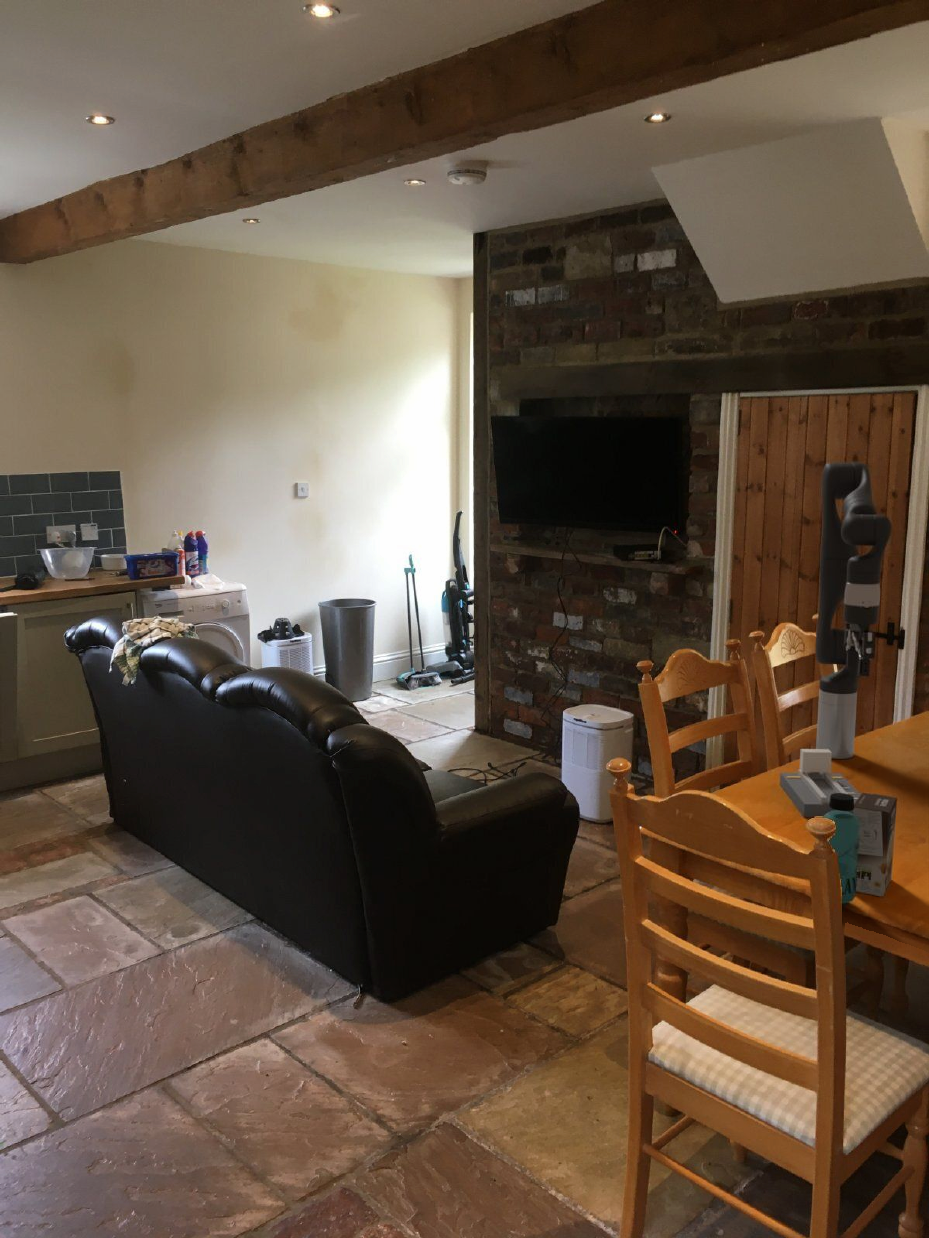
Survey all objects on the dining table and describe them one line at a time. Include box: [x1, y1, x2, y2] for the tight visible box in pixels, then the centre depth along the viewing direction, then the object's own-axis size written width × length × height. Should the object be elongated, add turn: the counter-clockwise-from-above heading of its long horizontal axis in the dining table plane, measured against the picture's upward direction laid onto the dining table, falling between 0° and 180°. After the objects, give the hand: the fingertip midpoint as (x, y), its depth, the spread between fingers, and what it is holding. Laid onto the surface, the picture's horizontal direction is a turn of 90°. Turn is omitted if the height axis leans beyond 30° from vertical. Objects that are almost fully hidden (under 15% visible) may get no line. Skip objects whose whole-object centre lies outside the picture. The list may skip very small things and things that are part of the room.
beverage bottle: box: [821, 793, 860, 904], centre depth 175 cm, size 6×7×20 cm
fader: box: [799, 748, 832, 780], centre depth 233 cm, size 3×6×6 cm, turn 87°
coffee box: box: [853, 792, 898, 897], centre depth 182 cm, size 9×6×16 cm
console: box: [779, 768, 862, 818], centre depth 226 cm, size 21×14×4 cm, turn 176°
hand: (857, 671), depth 230 cm, fingers open, 8 cm apart
